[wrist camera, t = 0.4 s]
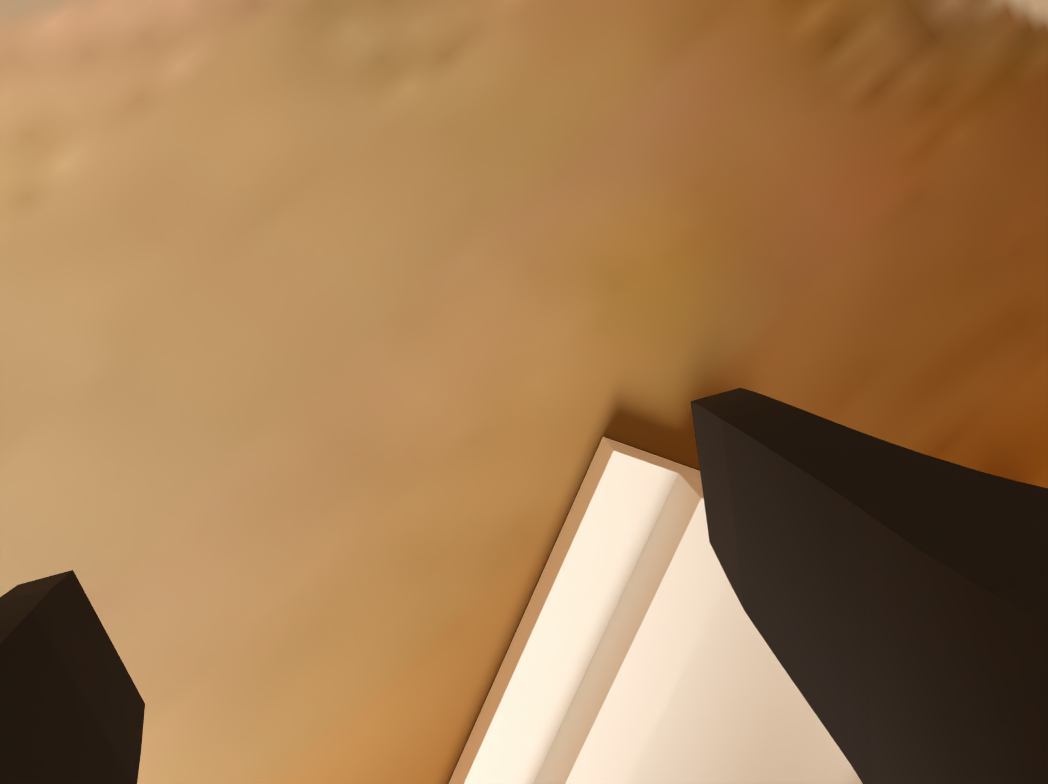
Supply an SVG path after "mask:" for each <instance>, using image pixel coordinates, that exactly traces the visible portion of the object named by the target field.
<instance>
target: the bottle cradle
mask: <svg viewBox="0 0 1048 784" xmlns="http://www.w3.org/2000/svg"><path fill="white" fill-rule="evenodd" d="M449 784H863V783H862V782H861V780H860V778H859V777H858V775H857V774H856V772H855V771H854V769H853V767H852V766H851V764H850V763H849V761H848V760H847V758H846V757H845V756H844V754H843V753H842V751H841V750H840V748H839V747H838V746H837V744H836V743H835V741H834V740H833V738H832V737H831V736H830V734H829V733H828V731H827V730H826V728H825V727H824V725H823V724H822V723H821V721H820V720H819V718H818V717H817V715H816V714H815V713H814V711H813V710H812V708H811V707H810V705H809V704H808V702H807V701H806V700H805V698H804V697H803V695H802V694H801V692H800V691H799V690H798V688H797V687H796V685H795V684H794V682H793V681H792V680H791V678H790V677H789V675H788V674H787V672H786V671H785V669H784V668H783V667H782V665H781V664H780V662H779V661H778V659H777V658H776V656H775V655H774V654H773V652H772V651H771V649H770V648H769V646H768V645H767V643H766V642H765V640H764V639H763V637H762V636H761V635H760V633H759V632H758V630H757V629H756V627H755V626H754V624H753V623H752V621H751V620H750V618H749V617H748V615H747V614H746V612H745V611H744V609H743V607H742V605H741V603H740V601H739V600H738V598H737V596H736V594H735V592H734V590H733V588H732V586H731V584H730V582H729V581H728V579H727V577H726V575H725V572H724V570H723V568H722V566H721V564H720V562H719V560H718V558H717V556H716V554H715V552H714V550H713V548H712V546H711V544H710V542H709V534H708V527H707V519H706V512H705V504H704V497H703V489H702V482H701V474H700V471H699V470H696V469H693V468H690V467H688V466H685V465H682V464H679V463H676V462H673V461H671V460H668V459H665V458H662V457H659V456H657V455H654V454H651V453H648V452H645V451H642V450H640V449H637V448H634V447H631V446H628V445H626V444H623V443H620V442H617V441H614V440H611V439H609V438H606V437H602V440H601V442H600V444H599V446H598V449H597V451H596V453H595V455H594V458H593V460H592V462H591V464H590V467H589V469H588V471H587V473H586V476H585V478H584V480H583V482H582V485H581V487H580V489H579V491H578V494H577V496H576V498H575V500H574V503H573V505H572V507H571V509H570V512H569V514H568V516H567V518H566V521H565V523H564V525H563V527H562V530H561V532H560V534H559V536H558V539H557V541H556V543H555V545H554V547H553V550H552V552H551V554H550V556H549V559H548V561H547V563H546V565H545V568H544V570H543V572H542V574H541V577H540V579H539V581H538V583H537V586H536V588H535V590H534V592H533V595H532V597H531V599H530V601H529V604H528V606H527V608H526V610H525V613H524V615H523V617H522V619H521V622H520V624H519V626H518V628H517V631H516V633H515V635H514V637H513V640H512V642H511V644H510V646H509V649H508V651H507V653H506V655H505V658H504V660H503V662H502V664H501V667H500V669H499V671H498V673H497V676H496V678H495V680H494V682H493V685H492V687H491V689H490V691H489V694H488V696H487V698H486V700H485V703H484V705H483V707H482V709H481V712H480V714H479V716H478V718H477V721H476V723H475V725H474V727H473V730H472V732H471V734H470V736H469V739H468V741H467V743H466V745H465V748H464V750H463V752H462V754H461V757H460V759H459V761H458V763H457V766H456V768H455V770H454V772H453V775H452V777H451V779H450V781H449Z"/></svg>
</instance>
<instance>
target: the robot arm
mask: <svg viewBox="0 0 1048 784" xmlns="http://www.w3.org/2000/svg"><path fill="white" fill-rule="evenodd" d="M691 407H692V414H693V422H694V429H695V437H696V444H697V452H698V459H699V467H700V474H701V482H702V489H703V497H704V504H705V512H706V519H707V527H708V534H709V542H710V544H711V546H712V548H713V550H714V552H715V554H716V556H717V558H718V560H719V562H720V564H721V566H722V568H723V570H724V572H725V575H726V577H727V579H728V581H729V582H730V584H731V586H732V588H733V590H734V592H735V594H736V596H737V598H738V600H739V601H740V603H741V605H742V607H743V609H744V611H745V612H746V614H747V615H748V617H749V618H750V620H751V621H752V623H753V624H754V626H755V627H756V629H757V630H758V632H759V633H760V635H761V636H762V637H763V639H764V640H765V642H766V643H767V645H768V646H769V648H770V649H771V651H772V652H773V654H774V655H775V656H776V658H777V659H778V661H779V662H780V664H781V665H782V667H783V668H784V669H785V671H786V672H787V674H788V675H789V677H790V678H791V680H792V681H793V682H794V684H795V685H796V687H797V688H798V690H799V691H800V692H801V694H802V695H803V697H804V698H805V700H806V701H807V702H808V704H809V705H810V707H811V708H812V710H813V711H814V713H815V714H816V715H817V717H818V718H819V720H820V721H821V723H822V724H823V725H824V727H825V728H826V730H827V731H828V733H829V734H830V736H831V737H832V738H833V740H834V741H835V743H836V744H837V746H838V747H839V748H840V750H841V751H842V753H843V754H844V756H845V757H846V758H847V760H848V761H849V763H850V764H851V766H852V767H853V769H854V771H855V772H856V774H857V775H858V777H859V778H860V780H861V782H862V783H863V784H1048V488H1043V487H1039V486H1035V485H1030V484H1026V483H1022V482H1017V481H1013V480H1009V479H1006V478H1002V477H998V476H995V475H991V474H987V473H984V472H980V471H976V470H973V469H970V468H967V467H963V466H960V465H957V464H954V463H950V462H947V461H944V460H941V459H938V458H934V457H931V456H928V455H925V454H921V453H918V452H915V451H912V450H910V449H907V448H904V447H901V446H898V445H895V444H892V443H889V442H886V441H883V440H881V439H878V438H875V437H872V436H870V435H867V434H864V433H861V432H859V431H856V430H853V429H851V428H848V427H845V426H843V425H840V424H837V423H835V422H832V421H830V420H827V419H824V418H822V417H819V416H817V415H814V414H812V413H809V412H806V411H804V410H801V409H799V408H796V407H794V406H791V405H788V404H786V403H783V402H780V401H778V400H775V399H773V398H770V397H767V396H764V395H762V394H759V393H756V392H753V391H749V390H746V389H742V388H738V389H735V390H731V391H727V392H724V393H720V394H716V395H713V396H709V397H705V398H702V399H698V400H694V401H691ZM144 709H145V703H144V701H143V699H142V698H141V696H140V694H139V692H138V690H137V688H136V687H135V685H134V683H133V681H132V679H131V677H130V675H129V674H128V672H127V670H126V668H125V666H124V664H123V662H122V661H121V659H120V657H119V655H118V653H117V651H116V649H115V648H114V646H113V644H112V642H111V640H110V638H109V636H108V635H107V633H106V631H105V629H104V627H103V625H102V623H101V622H100V620H99V618H98V616H97V614H96V612H95V610H94V609H93V607H92V605H91V603H90V601H89V599H88V597H87V596H86V594H85V592H84V590H83V588H82V586H81V584H80V583H79V581H78V579H77V577H76V575H75V573H74V571H73V570H71V571H68V572H64V573H60V574H57V575H53V576H49V577H46V578H42V579H38V580H35V581H31V582H27V583H24V584H20V585H17V586H16V587H14V588H13V589H11V590H10V591H9V592H7V593H6V594H4V595H3V596H2V597H0V784H137V778H138V770H139V762H140V754H141V744H142V732H143V720H144Z"/></svg>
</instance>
